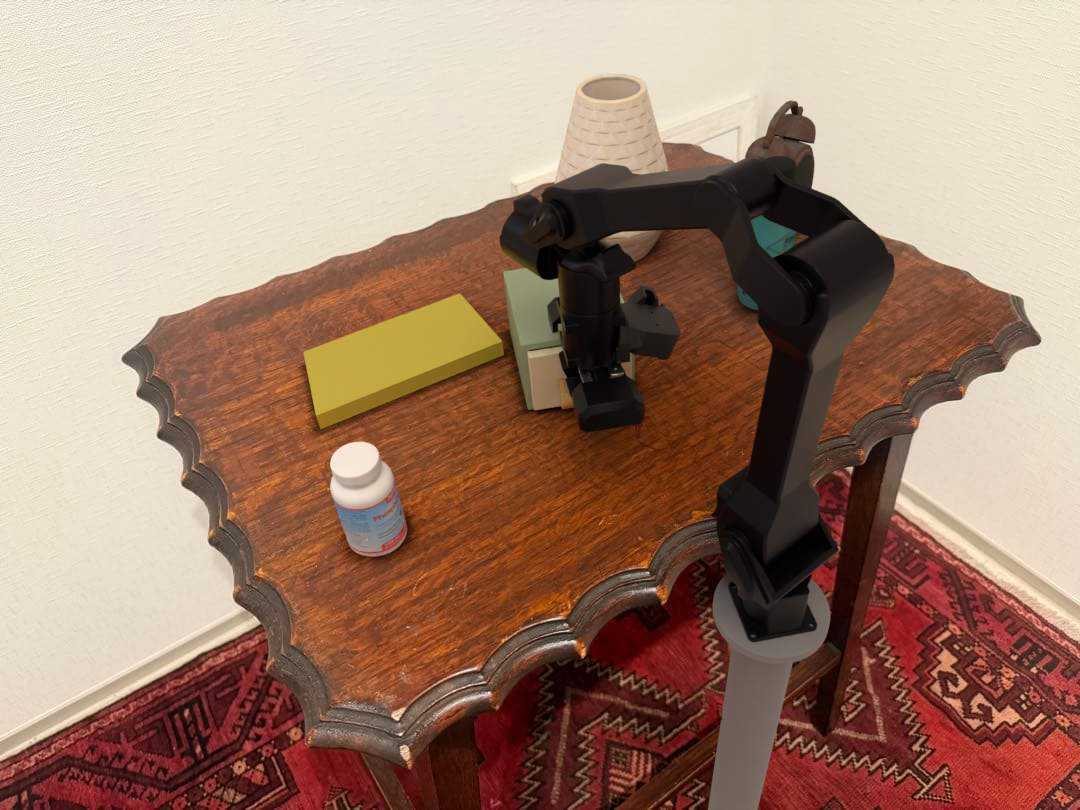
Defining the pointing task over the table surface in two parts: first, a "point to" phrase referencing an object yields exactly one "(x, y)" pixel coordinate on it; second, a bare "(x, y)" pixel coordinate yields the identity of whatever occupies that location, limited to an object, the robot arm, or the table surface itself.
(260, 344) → the table surface
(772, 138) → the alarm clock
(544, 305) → the cabinet
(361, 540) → the pill bottle
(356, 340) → the flat olive board
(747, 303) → the beverage bottle
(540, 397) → the drawer
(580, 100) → the vase
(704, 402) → the table surface
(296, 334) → the table surface
